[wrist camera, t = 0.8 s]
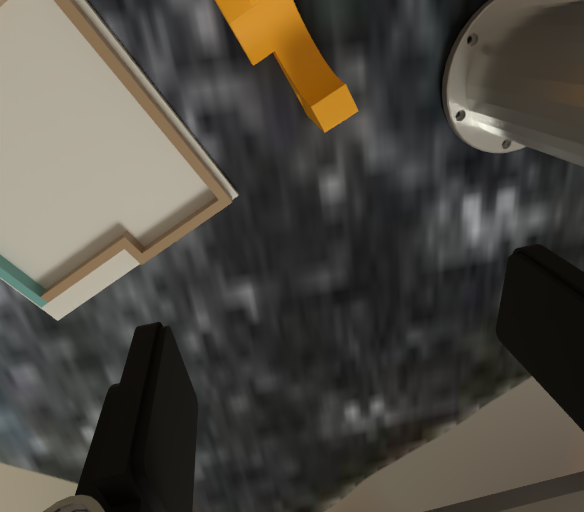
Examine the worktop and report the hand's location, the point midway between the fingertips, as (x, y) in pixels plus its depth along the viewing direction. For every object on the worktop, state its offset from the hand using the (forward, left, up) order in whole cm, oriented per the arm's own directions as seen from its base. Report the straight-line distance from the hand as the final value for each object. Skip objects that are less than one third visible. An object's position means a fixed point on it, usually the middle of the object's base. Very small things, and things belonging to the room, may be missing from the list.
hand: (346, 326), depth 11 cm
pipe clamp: (-4, -5, -25) cm, 26 cm away
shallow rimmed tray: (+15, -7, -25) cm, 30 cm away
